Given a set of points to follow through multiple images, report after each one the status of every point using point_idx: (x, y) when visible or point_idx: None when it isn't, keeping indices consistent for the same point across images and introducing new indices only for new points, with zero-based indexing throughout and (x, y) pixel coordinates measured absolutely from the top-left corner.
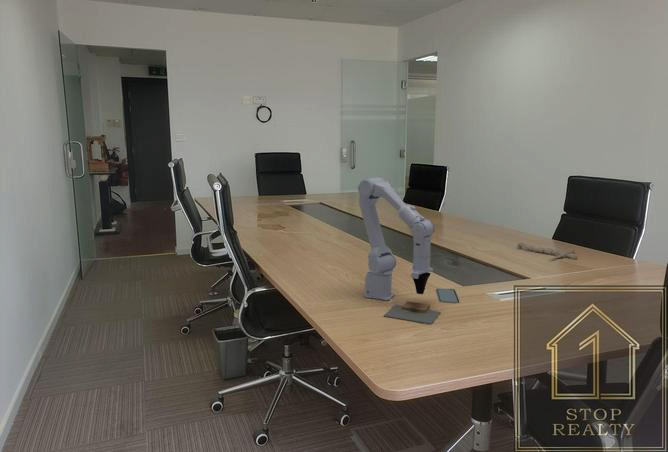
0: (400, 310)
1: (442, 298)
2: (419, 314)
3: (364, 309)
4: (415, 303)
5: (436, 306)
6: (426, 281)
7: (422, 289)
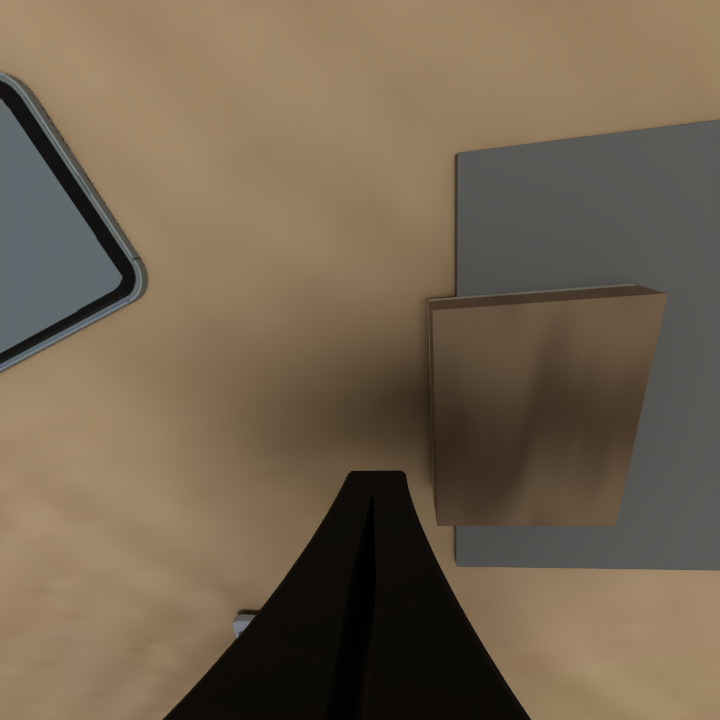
0: None
1: (46, 296)
2: None
3: (622, 676)
4: (460, 453)
5: (278, 275)
6: (286, 663)
7: (416, 534)
